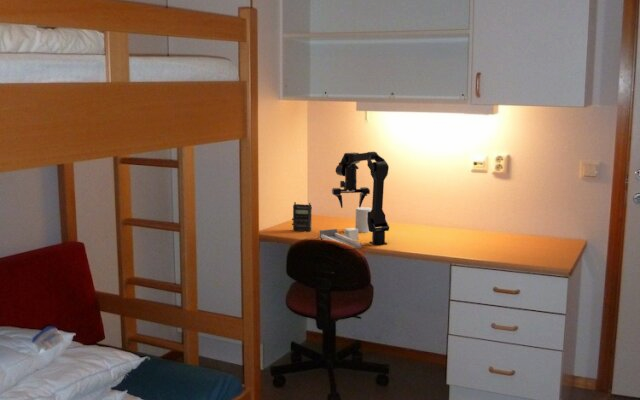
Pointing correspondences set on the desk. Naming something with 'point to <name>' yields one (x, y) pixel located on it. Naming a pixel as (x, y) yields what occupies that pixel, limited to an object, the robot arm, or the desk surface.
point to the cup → (362, 219)
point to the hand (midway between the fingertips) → (350, 207)
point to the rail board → (338, 238)
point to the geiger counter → (301, 217)
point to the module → (351, 233)
